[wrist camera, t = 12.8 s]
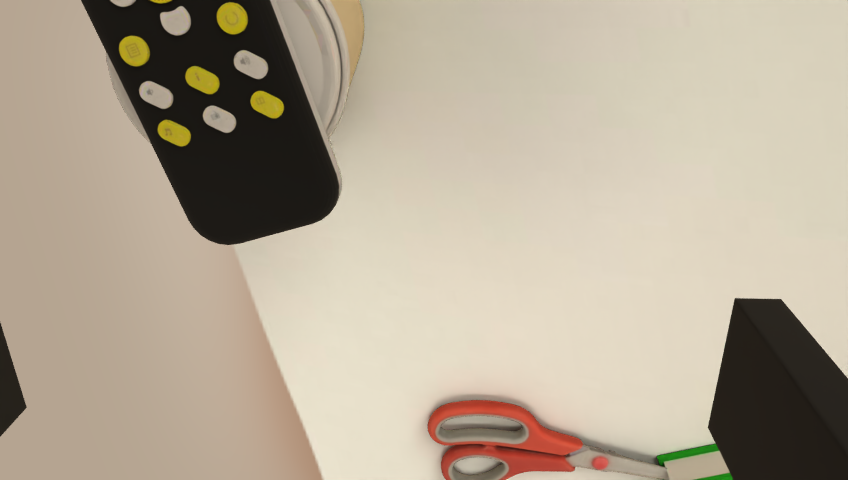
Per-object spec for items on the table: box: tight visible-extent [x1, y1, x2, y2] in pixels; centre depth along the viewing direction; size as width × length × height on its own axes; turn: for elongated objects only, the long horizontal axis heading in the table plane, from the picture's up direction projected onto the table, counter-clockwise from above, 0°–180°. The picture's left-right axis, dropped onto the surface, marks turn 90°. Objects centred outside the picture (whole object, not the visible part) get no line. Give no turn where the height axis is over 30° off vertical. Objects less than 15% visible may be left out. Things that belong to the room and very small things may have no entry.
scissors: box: [428, 400, 669, 480], centre depth 46 cm, size 8×21×2 cm, turn 92°
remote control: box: [81, 0, 342, 245], centre depth 25 cm, size 6×13×2 cm, turn 17°
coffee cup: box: [106, 0, 364, 143], centre depth 31 cm, size 9×9×12 cm
